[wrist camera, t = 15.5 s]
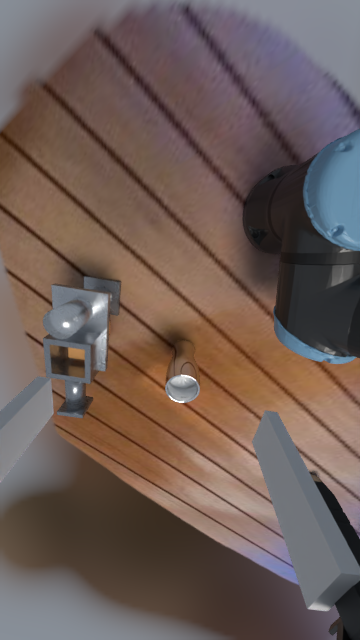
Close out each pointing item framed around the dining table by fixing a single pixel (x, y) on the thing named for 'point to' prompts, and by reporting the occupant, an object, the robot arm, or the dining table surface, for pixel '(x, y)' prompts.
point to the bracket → (73, 368)
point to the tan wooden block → (79, 351)
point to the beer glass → (182, 373)
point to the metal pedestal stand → (84, 311)
